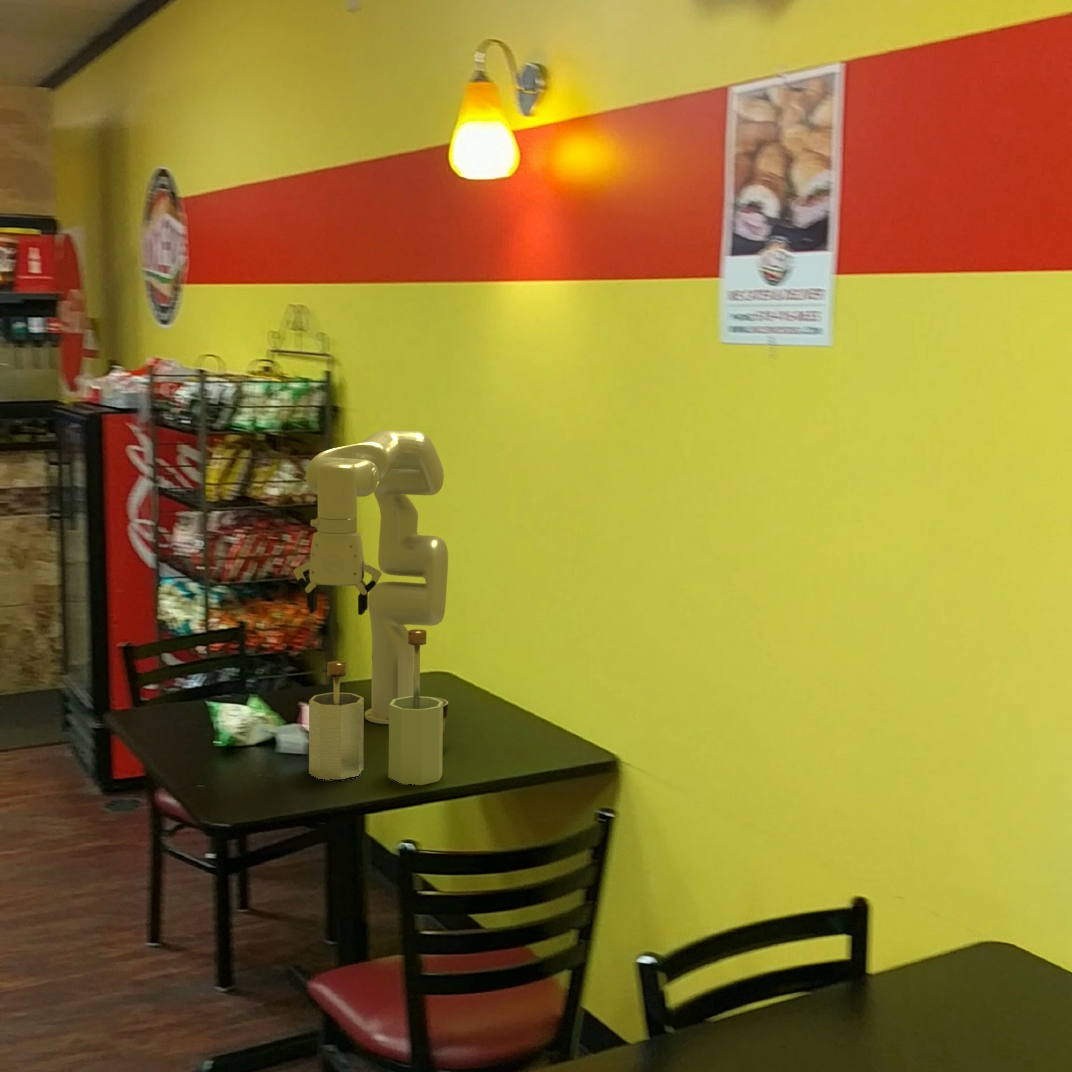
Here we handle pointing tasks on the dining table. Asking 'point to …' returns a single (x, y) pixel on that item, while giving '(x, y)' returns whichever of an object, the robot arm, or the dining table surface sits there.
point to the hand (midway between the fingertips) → (337, 612)
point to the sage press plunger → (416, 662)
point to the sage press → (415, 740)
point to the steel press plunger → (336, 677)
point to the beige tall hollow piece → (336, 736)
